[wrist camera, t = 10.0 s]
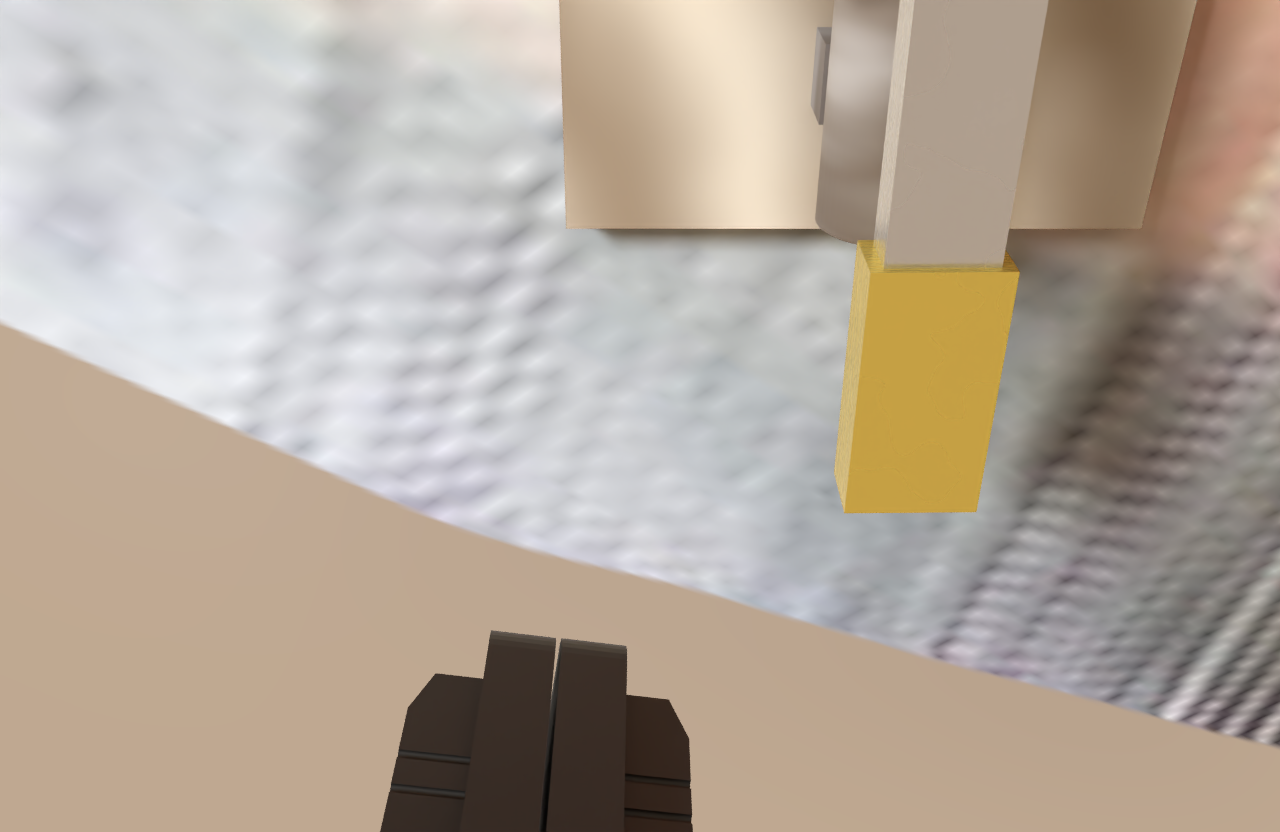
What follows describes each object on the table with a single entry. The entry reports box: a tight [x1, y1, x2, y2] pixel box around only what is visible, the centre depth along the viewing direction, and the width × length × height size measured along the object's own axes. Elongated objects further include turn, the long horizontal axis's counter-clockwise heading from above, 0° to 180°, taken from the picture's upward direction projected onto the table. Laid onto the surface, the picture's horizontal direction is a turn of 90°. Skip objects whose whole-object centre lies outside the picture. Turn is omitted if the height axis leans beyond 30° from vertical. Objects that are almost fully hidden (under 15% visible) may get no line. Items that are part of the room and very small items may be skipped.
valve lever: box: [834, 0, 1049, 513], centre depth 24 cm, size 15×3×3 cm, turn 0°
